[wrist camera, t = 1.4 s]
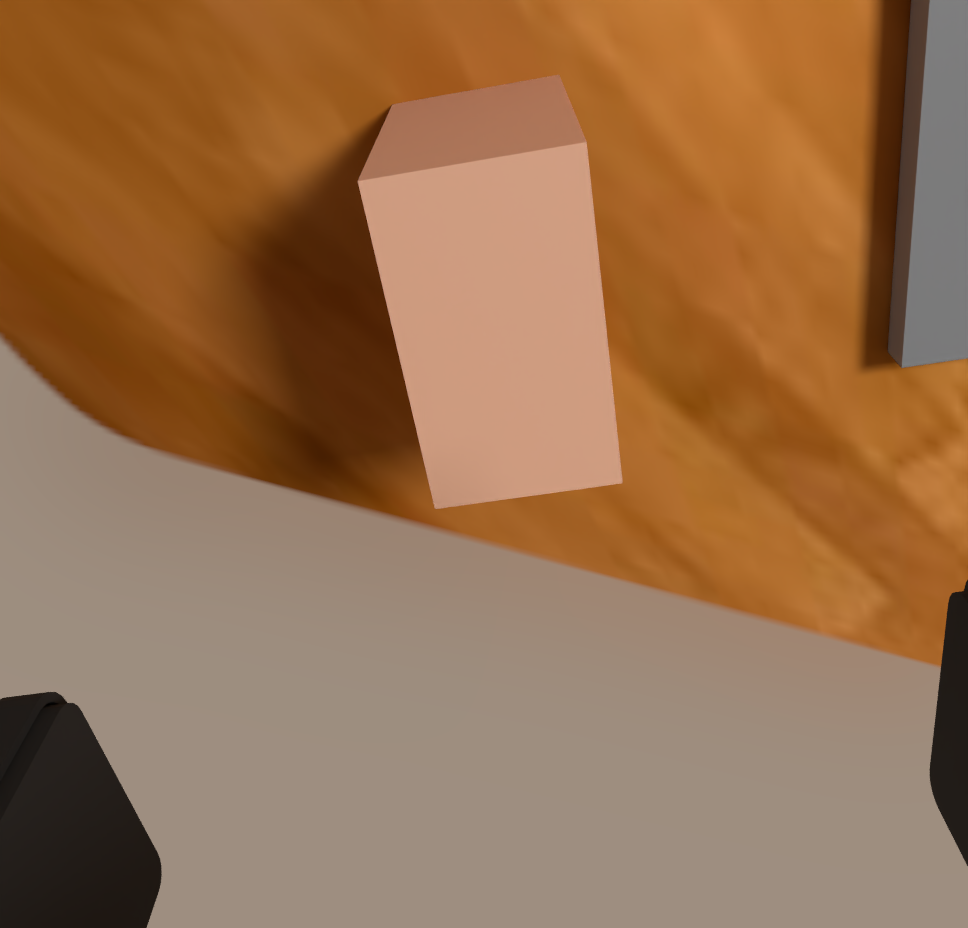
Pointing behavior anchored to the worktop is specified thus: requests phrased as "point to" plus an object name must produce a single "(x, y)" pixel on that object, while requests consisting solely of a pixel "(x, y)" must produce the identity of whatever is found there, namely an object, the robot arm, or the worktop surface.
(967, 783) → the robot arm
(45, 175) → the worktop surface
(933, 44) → the nest board
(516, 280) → the key block
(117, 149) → the worktop surface
